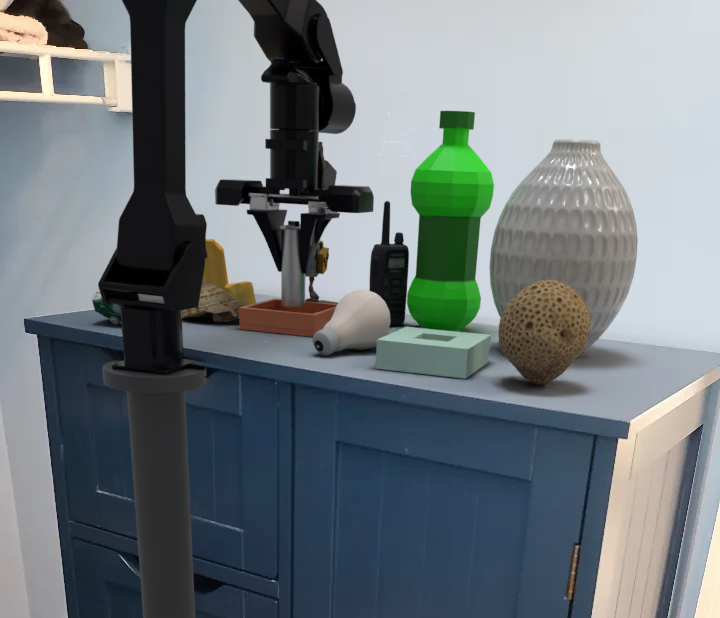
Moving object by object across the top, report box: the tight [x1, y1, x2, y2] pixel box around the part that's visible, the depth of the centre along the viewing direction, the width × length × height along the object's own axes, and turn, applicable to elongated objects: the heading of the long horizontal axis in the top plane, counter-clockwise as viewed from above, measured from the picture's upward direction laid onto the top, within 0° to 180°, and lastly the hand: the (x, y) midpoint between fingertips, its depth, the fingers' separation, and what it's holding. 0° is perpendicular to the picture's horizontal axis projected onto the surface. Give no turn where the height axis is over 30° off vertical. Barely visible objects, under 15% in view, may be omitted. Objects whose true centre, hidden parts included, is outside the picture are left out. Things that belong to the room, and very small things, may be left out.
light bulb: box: [312, 289, 391, 357], centre depth 107 cm, size 7×7×11 cm
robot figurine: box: [305, 240, 339, 304], centre depth 131 cm, size 11×9×12 cm
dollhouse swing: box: [202, 238, 257, 306], centre depth 134 cm, size 10×10×9 cm
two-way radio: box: [369, 200, 410, 326], centre depth 123 cm, size 6×4×15 cm
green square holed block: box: [375, 326, 492, 380], centre depth 102 cm, size 10×10×3 cm
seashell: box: [181, 282, 244, 323], centre depth 123 cm, size 8×6×8 cm
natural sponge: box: [497, 280, 591, 386], centre depth 93 cm, size 9×9×10 cm
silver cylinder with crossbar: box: [280, 220, 306, 308], centre depth 118 cm, size 3×6×10 cm, turn 159°
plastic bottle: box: [406, 110, 495, 332], centre depth 118 cm, size 10×11×25 cm
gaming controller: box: [91, 288, 122, 325], centre depth 118 cm, size 9×4×6 cm
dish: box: [238, 298, 337, 338], centre depth 121 cm, size 10×10×3 cm
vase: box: [488, 138, 639, 357], centre depth 107 cm, size 16×16×22 cm
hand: (293, 272), depth 118 cm, fingers closed on silver cylinder with crossbar, 3 cm apart
